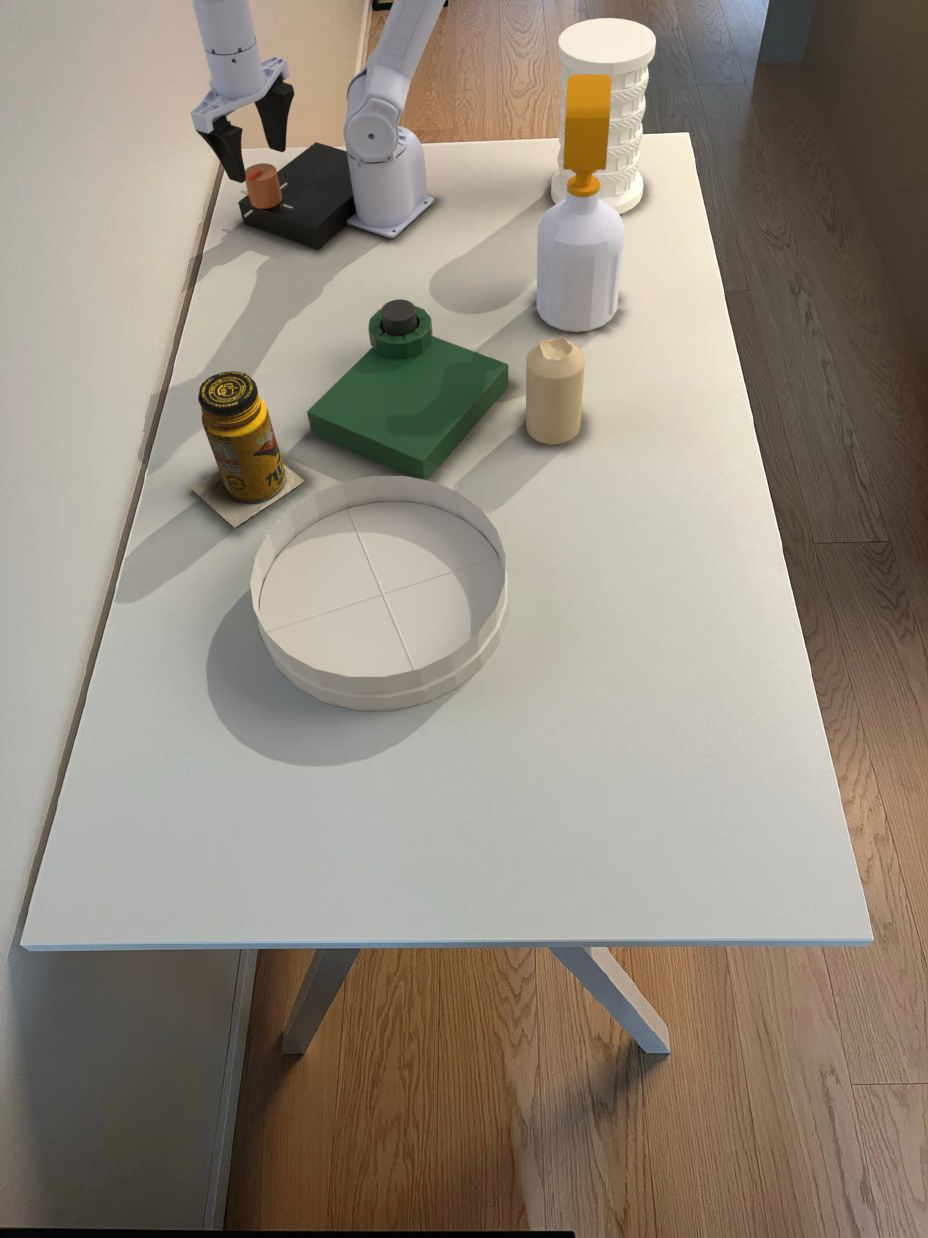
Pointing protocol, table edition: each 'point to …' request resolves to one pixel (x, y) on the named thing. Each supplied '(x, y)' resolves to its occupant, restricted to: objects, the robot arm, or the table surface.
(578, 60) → the decorative container
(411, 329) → the dark grey short cylinder
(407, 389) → the button base
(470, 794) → the table surface
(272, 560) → the dish
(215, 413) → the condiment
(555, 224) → the soap bottle
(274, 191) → the dial
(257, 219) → the panel
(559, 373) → the candle
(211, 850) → the table surface
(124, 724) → the table surface
